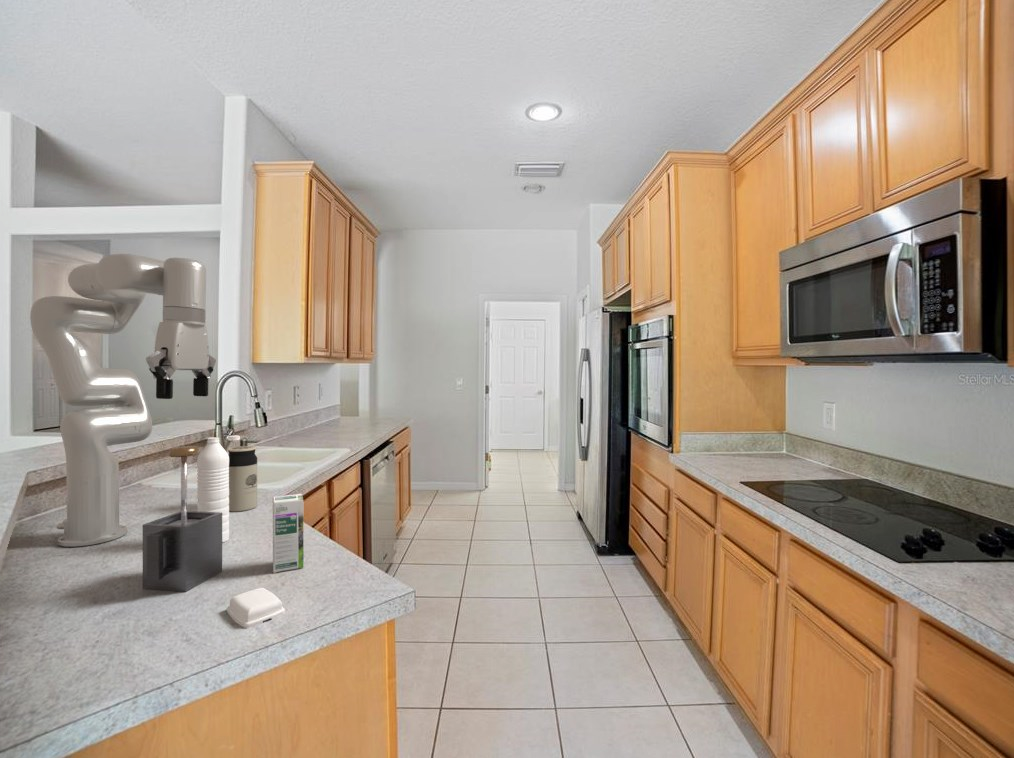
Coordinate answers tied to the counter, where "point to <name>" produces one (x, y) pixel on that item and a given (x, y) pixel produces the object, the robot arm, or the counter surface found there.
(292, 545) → the syrup box
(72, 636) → the counter surface
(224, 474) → the water bottle
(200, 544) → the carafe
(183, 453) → the plunger
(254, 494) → the travel mug
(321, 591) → the counter surface
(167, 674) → the counter surface
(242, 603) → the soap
